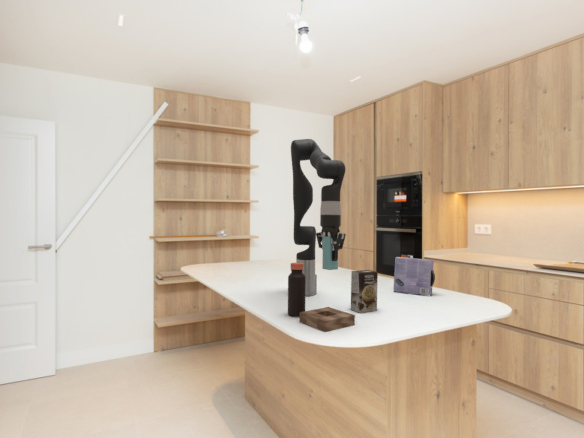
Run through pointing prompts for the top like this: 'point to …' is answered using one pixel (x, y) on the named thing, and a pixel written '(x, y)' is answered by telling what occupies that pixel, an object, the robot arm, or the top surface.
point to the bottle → (296, 290)
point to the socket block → (326, 318)
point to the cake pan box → (413, 276)
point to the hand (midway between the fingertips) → (330, 260)
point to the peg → (328, 255)
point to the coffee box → (364, 290)
